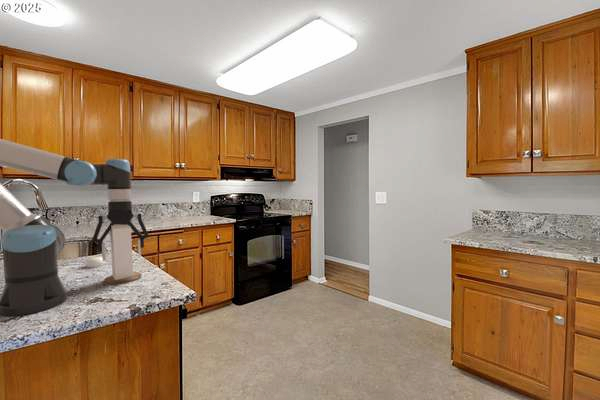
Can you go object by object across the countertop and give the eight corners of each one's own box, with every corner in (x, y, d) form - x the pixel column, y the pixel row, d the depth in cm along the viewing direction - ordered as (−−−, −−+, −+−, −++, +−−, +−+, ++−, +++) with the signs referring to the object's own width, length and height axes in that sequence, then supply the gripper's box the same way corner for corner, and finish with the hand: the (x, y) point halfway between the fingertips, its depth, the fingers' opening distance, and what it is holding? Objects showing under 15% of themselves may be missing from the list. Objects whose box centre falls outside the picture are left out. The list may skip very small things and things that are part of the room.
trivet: (141, 280, 108) (140, 278, 108) (102, 286, 102) (102, 283, 102) (141, 272, 118) (141, 270, 118) (106, 276, 113) (106, 274, 113)
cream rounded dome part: (107, 265, 128) (106, 257, 128) (87, 268, 124) (87, 260, 123) (103, 263, 133) (103, 255, 133) (85, 265, 129) (84, 258, 128)
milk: (133, 276, 110) (130, 219, 108) (114, 280, 106) (111, 220, 104) (130, 272, 115) (127, 217, 113) (112, 276, 111) (109, 219, 109)
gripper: (154, 199, 117) (156, 252, 119) (83, 201, 106) (86, 259, 108) (154, 200, 111) (156, 256, 112) (79, 202, 100) (82, 264, 101)
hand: (122, 258), depth 110 cm, fingers open, 11 cm apart
